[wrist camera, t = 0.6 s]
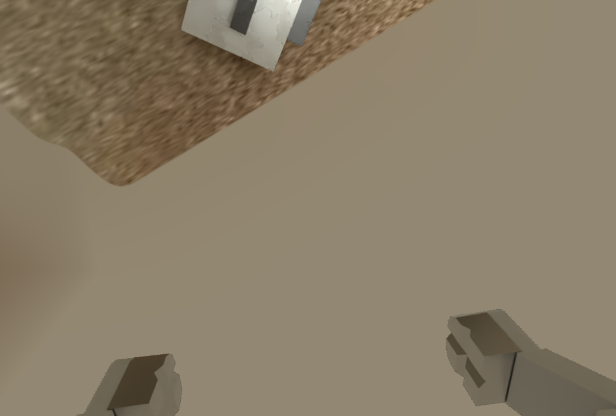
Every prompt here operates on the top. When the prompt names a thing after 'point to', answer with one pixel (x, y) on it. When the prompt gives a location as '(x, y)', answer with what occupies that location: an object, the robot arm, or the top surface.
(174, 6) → the top surface
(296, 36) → the pot
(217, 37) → the lid
